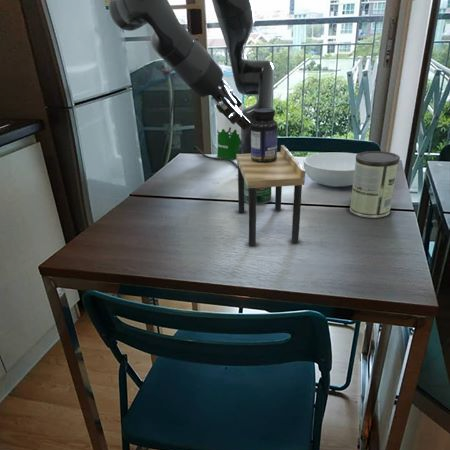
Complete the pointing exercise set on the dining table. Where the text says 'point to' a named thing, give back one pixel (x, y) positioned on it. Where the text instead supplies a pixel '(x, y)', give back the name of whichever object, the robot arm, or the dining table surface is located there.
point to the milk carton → (227, 135)
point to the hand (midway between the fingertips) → (242, 116)
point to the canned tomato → (258, 194)
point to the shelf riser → (270, 177)
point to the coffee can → (373, 183)
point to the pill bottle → (264, 136)
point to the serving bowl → (331, 168)
